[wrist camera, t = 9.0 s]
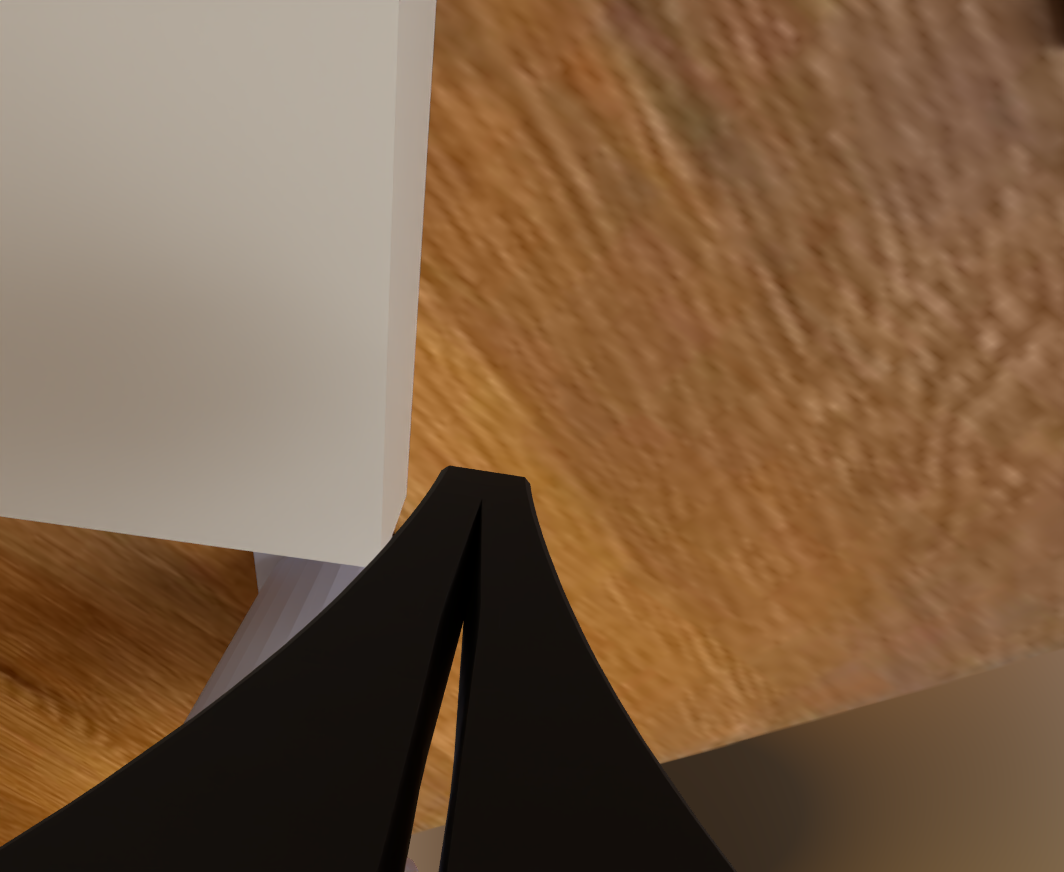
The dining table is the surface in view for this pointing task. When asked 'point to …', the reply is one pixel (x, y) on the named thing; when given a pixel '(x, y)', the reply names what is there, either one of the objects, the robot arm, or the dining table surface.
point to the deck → (212, 267)
